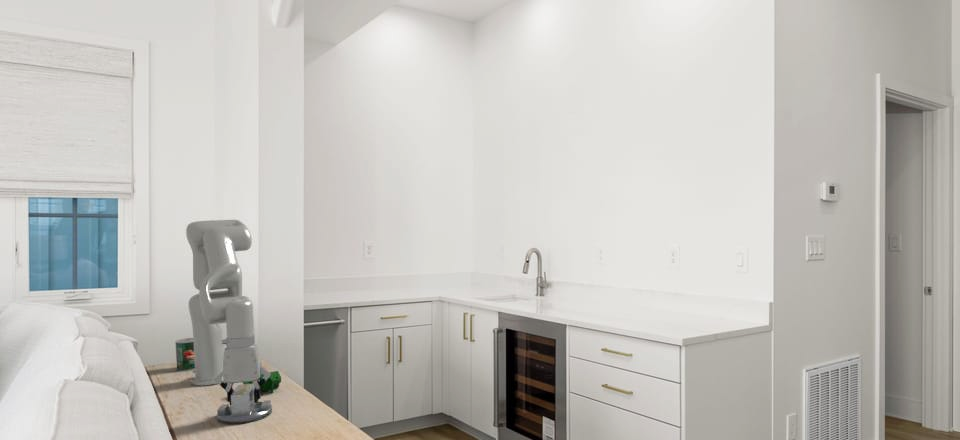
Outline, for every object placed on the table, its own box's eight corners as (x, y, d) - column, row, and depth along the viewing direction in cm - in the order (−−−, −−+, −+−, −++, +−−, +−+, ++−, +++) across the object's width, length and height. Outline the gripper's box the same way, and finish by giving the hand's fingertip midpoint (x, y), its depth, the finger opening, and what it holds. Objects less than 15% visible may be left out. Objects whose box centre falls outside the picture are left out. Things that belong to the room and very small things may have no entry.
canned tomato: (193, 370, 234) (191, 342, 234) (172, 371, 234) (171, 343, 234) (203, 365, 242) (201, 337, 242) (183, 366, 242) (181, 338, 242)
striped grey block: (231, 416, 175) (230, 395, 175) (239, 404, 185) (238, 384, 185) (250, 414, 176) (249, 393, 176) (256, 402, 186) (255, 383, 186)
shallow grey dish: (211, 426, 172) (211, 416, 172) (224, 409, 187) (223, 399, 187) (267, 421, 174) (266, 410, 174) (275, 404, 189) (274, 394, 189)
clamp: (253, 409, 199) (241, 388, 195) (249, 400, 204) (237, 379, 200) (287, 389, 204) (276, 368, 200) (283, 381, 209) (272, 360, 205)
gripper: (206, 347, 175) (210, 409, 175) (269, 342, 178) (273, 403, 178) (213, 341, 182) (216, 401, 183) (273, 337, 185) (276, 395, 186)
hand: (244, 402), depth 180 cm, fingers open, 6 cm apart
